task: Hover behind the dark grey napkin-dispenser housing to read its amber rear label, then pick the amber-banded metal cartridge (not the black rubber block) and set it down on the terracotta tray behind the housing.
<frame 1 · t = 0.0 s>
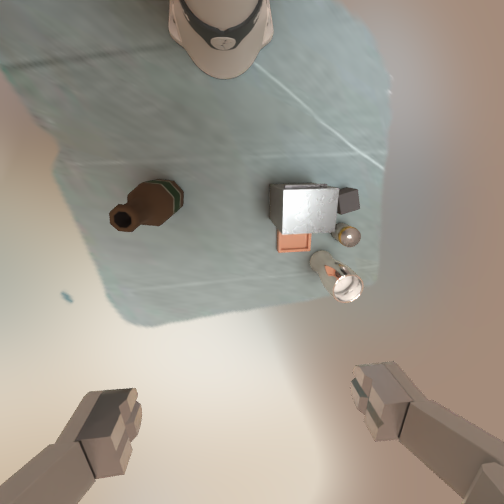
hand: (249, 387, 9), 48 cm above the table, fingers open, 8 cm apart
beer bottle: (167, 196, 52), on the table
beer glass: (320, 260, 61), on the table
dispenser: (290, 200, 55), on the table
cartridge: (339, 231, 59), on the table
rubber block: (339, 199, 56), on the table
tray: (293, 234, 58), on the table
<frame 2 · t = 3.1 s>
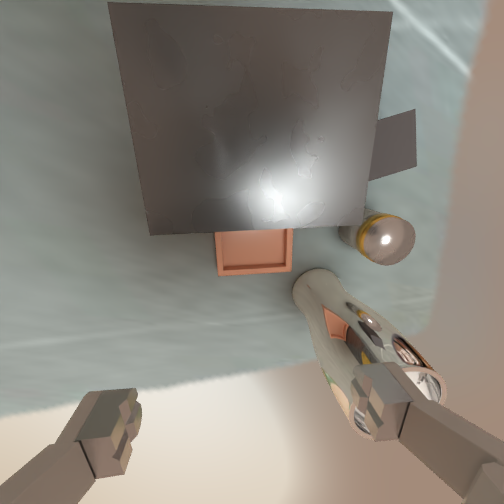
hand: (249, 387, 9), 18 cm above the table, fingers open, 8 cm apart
beer glass: (315, 289, 29), on the table
dispenser: (240, 152, 23), on the table
cartridge: (357, 226, 26), on the table
rubber block: (358, 150, 24), on the table
tray: (252, 233, 25), on the table
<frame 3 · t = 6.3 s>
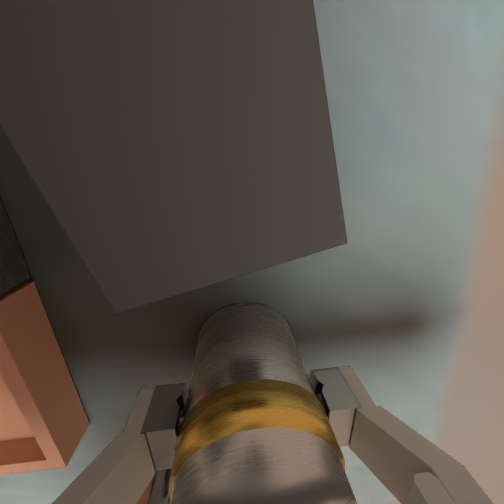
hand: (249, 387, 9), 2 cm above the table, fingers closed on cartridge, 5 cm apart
beer glass: (175, 455, 13), on the table
cartridge: (245, 342, 11), on the table, touching gripper
rubber block: (209, 159, 8), on the table
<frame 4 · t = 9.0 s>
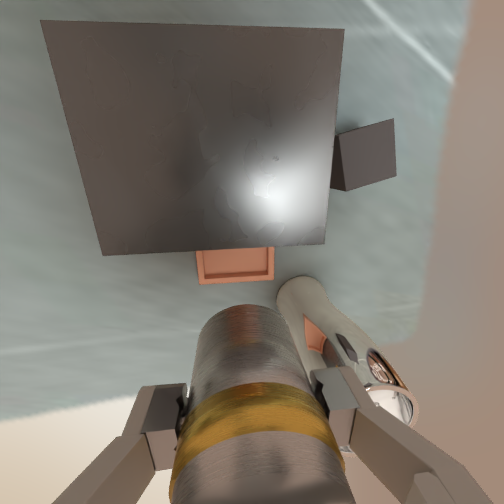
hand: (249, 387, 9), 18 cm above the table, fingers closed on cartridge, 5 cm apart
beer glass: (299, 296, 29), on the table
dispenser: (220, 160, 22), on the table
cartridge: (245, 344, 11), point 15 cm above the table, touching gripper
rubber block: (340, 158, 23), on the table
tray: (234, 241, 25), on the table
when the fingers open (4 cm above the table, at t = 11.7 s): cartridge stays where it is, resting on tray.
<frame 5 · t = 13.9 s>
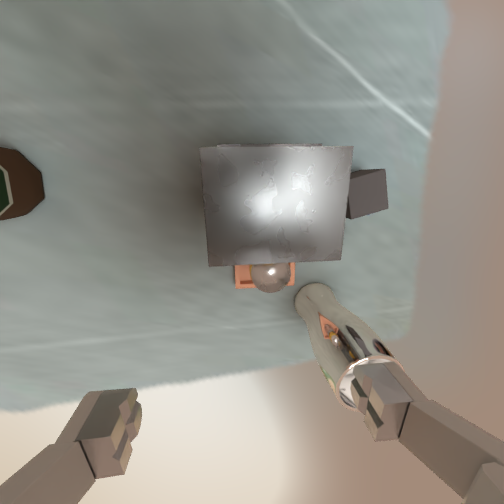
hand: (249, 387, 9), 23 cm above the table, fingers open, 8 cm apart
beer bottle: (11, 181, 27), on the table
beer glass: (313, 299, 35), on the table
dispenser: (255, 194, 29), on the table
cartridge: (264, 257, 31), point 1 cm above the table, touching tray
rubber block: (346, 191, 30), on the table
tray: (263, 254, 32), on the table
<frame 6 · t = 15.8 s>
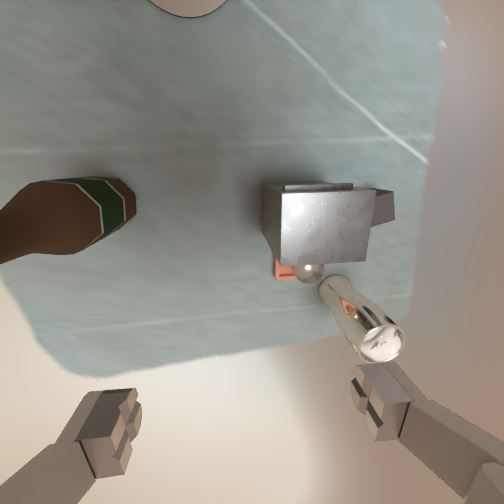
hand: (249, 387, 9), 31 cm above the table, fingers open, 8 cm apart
beer bottle: (112, 201, 35), on the table
beer glass: (333, 288, 45), on the table
dispenser: (292, 207, 38), on the table
cartridge: (297, 255, 40), point 1 cm above the table, touching tray
rubber block: (361, 204, 39), on the table
tray: (296, 253, 41), on the table
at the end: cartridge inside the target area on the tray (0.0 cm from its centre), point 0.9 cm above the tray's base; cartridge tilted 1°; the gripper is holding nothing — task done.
